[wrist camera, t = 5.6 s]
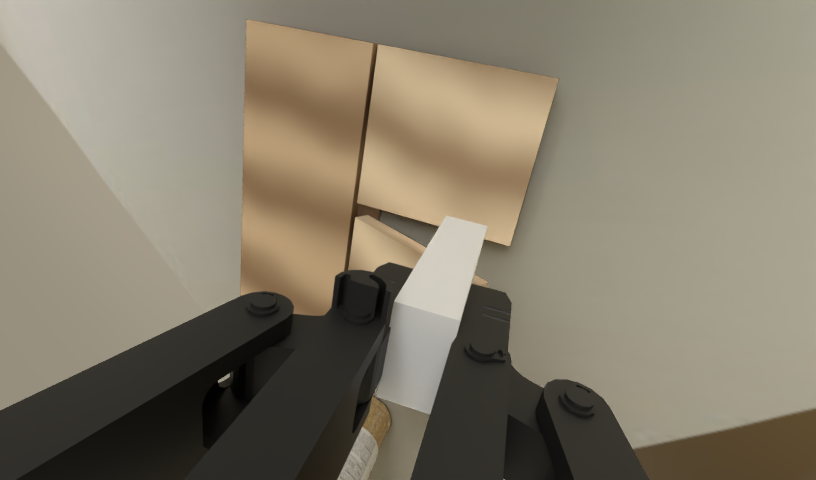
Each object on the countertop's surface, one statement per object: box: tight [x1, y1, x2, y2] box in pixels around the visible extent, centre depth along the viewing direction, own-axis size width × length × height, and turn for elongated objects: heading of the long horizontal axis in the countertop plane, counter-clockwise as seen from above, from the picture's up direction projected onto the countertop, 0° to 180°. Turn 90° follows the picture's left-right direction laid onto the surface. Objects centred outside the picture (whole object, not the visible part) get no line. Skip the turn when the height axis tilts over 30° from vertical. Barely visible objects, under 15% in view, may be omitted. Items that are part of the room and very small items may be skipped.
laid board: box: [240, 19, 386, 316], centre depth 30 cm, size 20×10×2 cm, turn 170°
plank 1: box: [357, 44, 559, 246], centre depth 26 cm, size 10×10×1 cm
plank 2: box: [348, 215, 488, 287], centre depth 28 cm, size 10×10×1 cm
